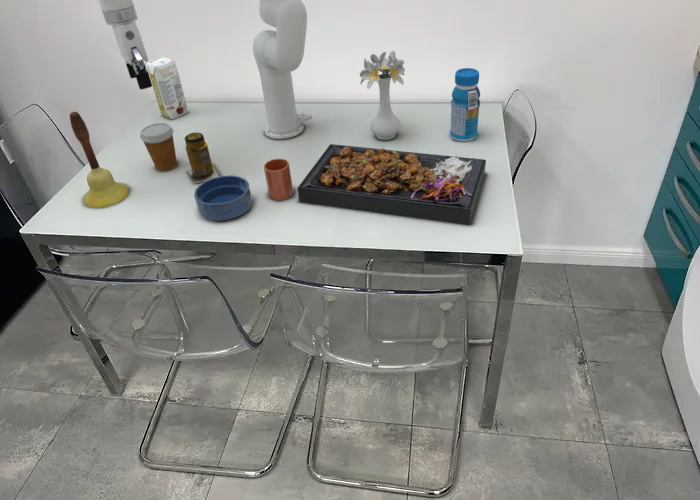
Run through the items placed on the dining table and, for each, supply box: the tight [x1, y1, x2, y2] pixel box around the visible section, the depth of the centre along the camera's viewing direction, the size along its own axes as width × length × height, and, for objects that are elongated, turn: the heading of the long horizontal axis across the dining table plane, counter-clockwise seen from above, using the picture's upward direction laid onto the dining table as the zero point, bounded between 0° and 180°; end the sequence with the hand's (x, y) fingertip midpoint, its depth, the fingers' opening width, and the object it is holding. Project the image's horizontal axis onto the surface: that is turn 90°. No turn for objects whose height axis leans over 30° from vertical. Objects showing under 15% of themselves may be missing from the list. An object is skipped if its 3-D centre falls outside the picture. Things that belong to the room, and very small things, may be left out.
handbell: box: [69, 111, 130, 209], centre depth 152 cm, size 12×12×25 cm
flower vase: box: [359, 50, 406, 141], centre depth 169 cm, size 13×18×25 cm
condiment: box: [184, 131, 220, 184], centre depth 161 cm, size 7×8×12 cm
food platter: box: [297, 143, 487, 226], centre depth 149 cm, size 45×25×10 cm, turn 71°
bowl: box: [193, 174, 253, 222], centre depth 149 cm, size 14×14×6 cm
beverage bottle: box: [449, 67, 481, 142], centre depth 166 cm, size 8×8×20 cm
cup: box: [263, 158, 294, 201], centre depth 151 cm, size 7×7×9 cm
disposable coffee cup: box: [139, 122, 178, 172], centre depth 167 cm, size 10×10×12 cm
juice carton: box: [146, 56, 189, 120], centre depth 195 cm, size 8×9×19 cm
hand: (141, 82), depth 148 cm, fingers open, 9 cm apart
